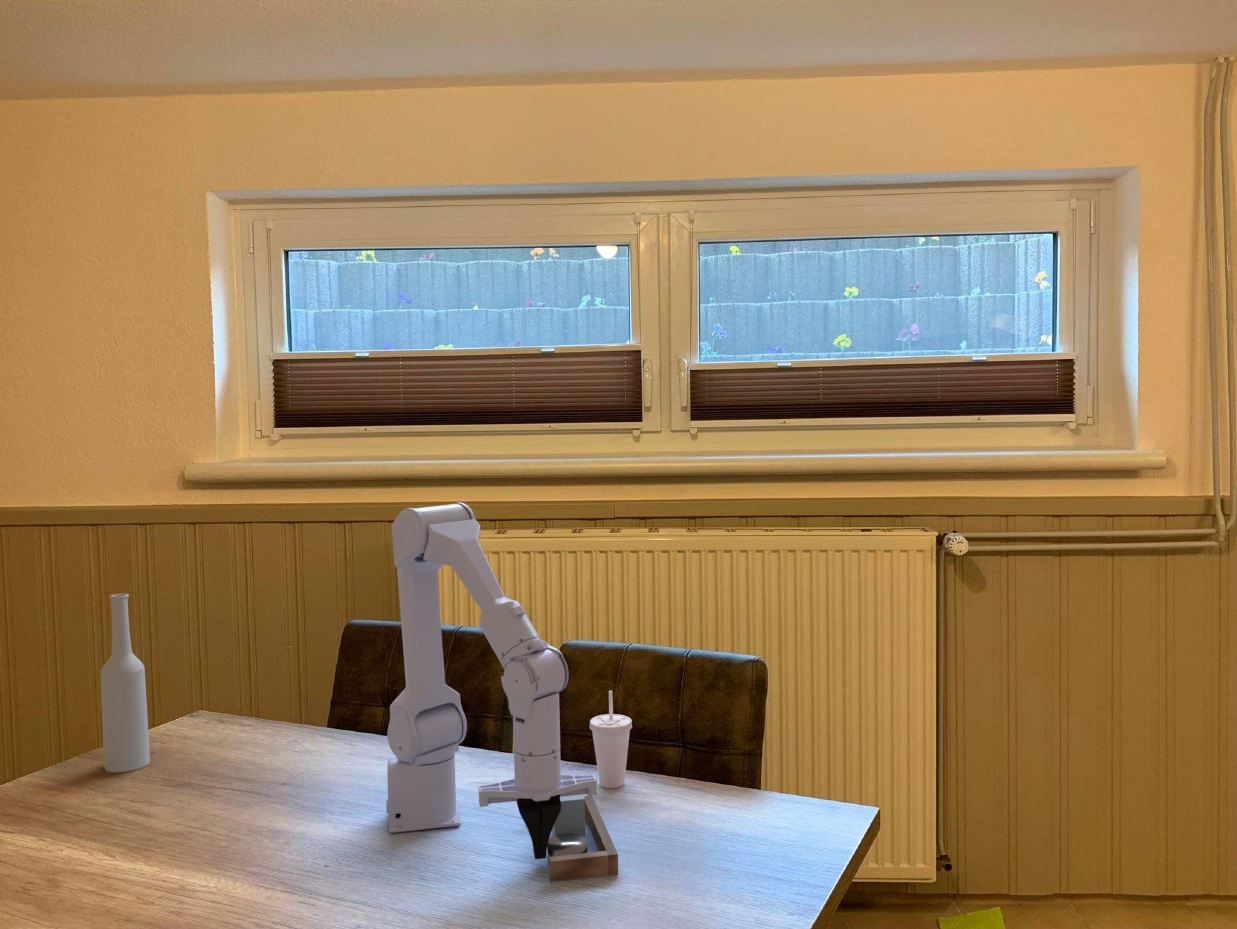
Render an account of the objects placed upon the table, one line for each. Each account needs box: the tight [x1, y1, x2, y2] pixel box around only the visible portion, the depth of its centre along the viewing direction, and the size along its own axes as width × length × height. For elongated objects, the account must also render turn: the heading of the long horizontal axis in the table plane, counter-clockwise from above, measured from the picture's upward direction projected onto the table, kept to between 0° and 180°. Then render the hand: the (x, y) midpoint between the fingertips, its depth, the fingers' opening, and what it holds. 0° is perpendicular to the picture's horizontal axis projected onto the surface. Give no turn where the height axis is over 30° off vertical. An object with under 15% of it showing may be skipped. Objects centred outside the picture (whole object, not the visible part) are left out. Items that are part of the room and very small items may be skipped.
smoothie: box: [589, 690, 633, 789], centre depth 147 cm, size 6×6×14 cm
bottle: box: [100, 593, 151, 774], centre depth 158 cm, size 7×7×28 cm
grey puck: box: [546, 833, 588, 867], centre depth 122 cm, size 5×5×2 cm
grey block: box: [551, 794, 587, 839], centre depth 129 cm, size 4×4×6 cm
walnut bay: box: [537, 795, 619, 883], centre depth 127 cm, size 8×18×2 cm, turn 12°
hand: (539, 855), depth 121 cm, fingers closed
